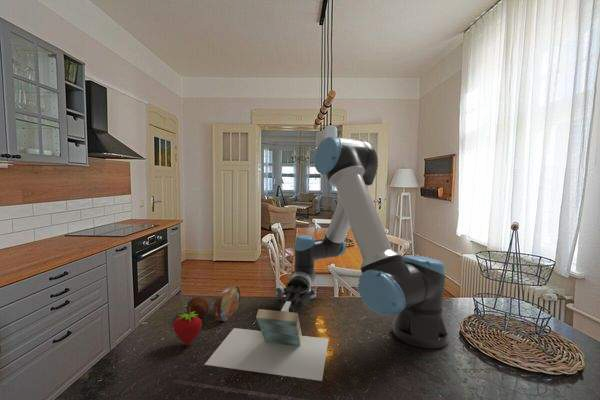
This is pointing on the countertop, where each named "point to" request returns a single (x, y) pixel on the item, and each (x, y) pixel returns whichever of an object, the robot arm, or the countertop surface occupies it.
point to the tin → (227, 303)
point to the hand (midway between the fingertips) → (283, 315)
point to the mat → (271, 355)
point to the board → (280, 327)
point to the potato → (198, 306)
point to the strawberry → (187, 327)
